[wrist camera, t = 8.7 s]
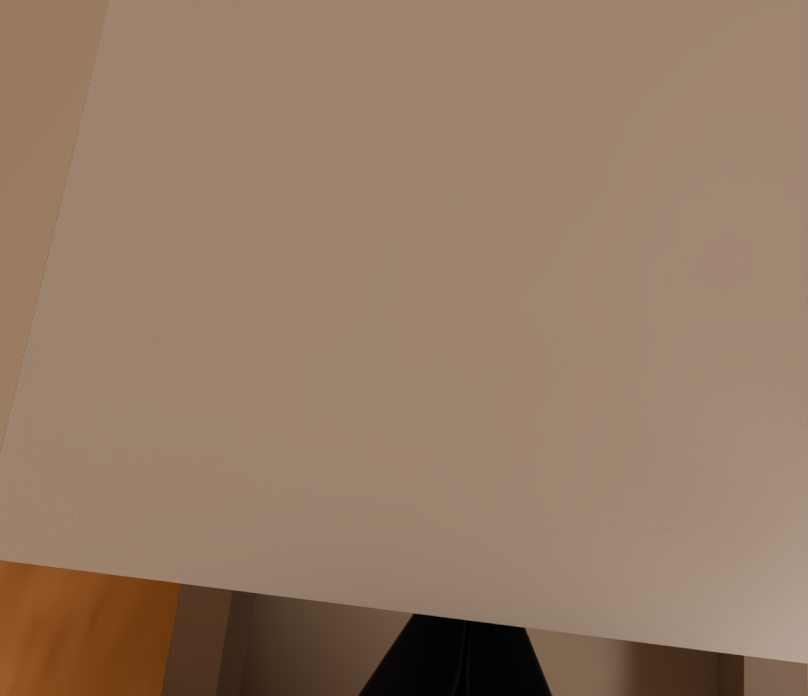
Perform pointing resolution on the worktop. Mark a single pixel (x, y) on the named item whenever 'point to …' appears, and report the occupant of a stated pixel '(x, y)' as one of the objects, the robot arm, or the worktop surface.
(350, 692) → the wooden serving tray
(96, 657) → the worktop surface
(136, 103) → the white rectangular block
